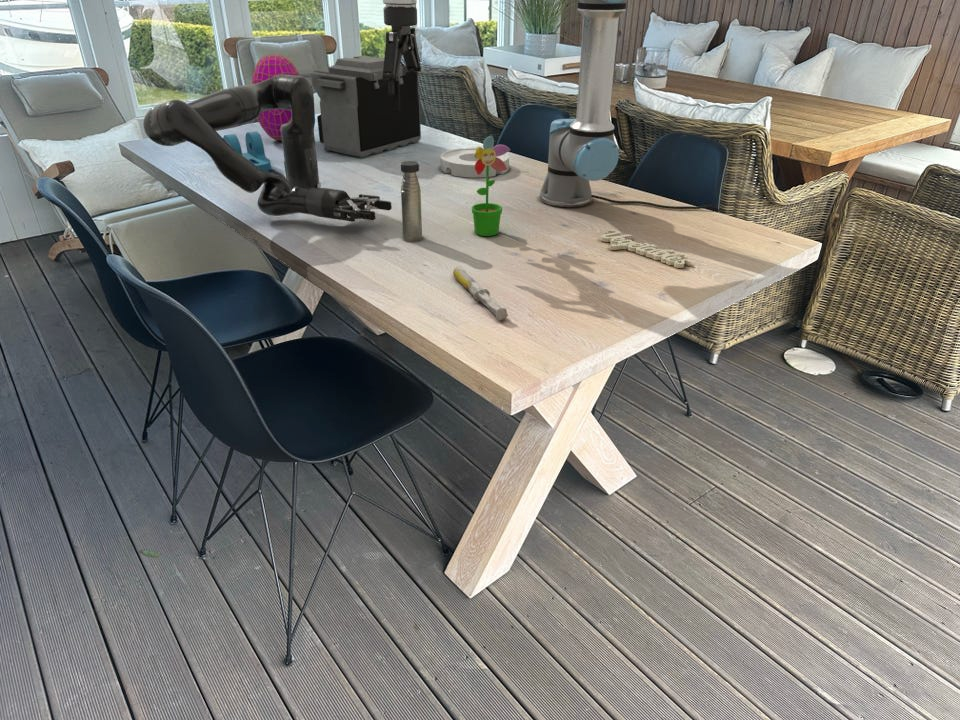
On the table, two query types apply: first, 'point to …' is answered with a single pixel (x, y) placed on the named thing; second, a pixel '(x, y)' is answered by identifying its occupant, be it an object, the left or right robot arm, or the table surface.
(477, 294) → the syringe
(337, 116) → the cooler box
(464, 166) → the ashtray
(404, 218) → the bottle
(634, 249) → the decorative sign
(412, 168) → the cap
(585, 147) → the right robot arm
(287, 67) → the decorative egg
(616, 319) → the table surface
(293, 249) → the table surface
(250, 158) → the camera mount
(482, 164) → the potted flower
